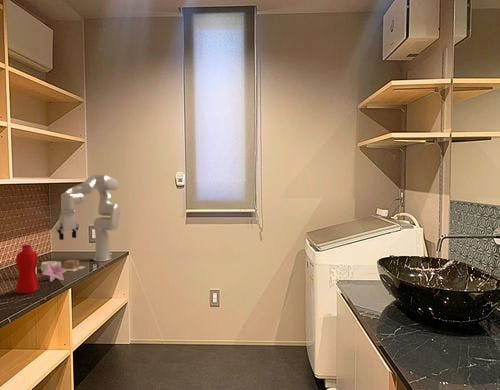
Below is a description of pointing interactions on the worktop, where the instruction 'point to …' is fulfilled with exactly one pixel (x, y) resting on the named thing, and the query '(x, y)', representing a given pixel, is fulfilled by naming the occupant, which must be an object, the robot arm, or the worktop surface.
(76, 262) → the lid
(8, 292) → the worktop surface
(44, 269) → the bowl
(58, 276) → the lily
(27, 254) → the water bottle
